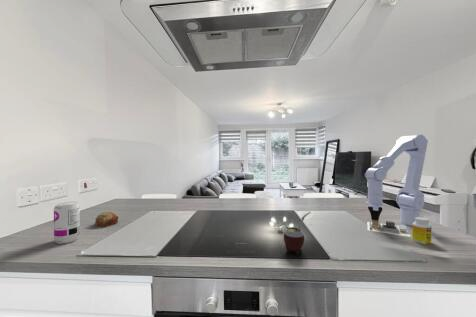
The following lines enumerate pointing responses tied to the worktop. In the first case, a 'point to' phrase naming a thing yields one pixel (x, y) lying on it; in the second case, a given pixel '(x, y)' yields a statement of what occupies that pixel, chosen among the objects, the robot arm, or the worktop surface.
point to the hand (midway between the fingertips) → (374, 222)
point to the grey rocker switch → (402, 228)
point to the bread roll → (106, 219)
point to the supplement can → (66, 222)
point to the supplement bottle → (421, 231)
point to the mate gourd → (294, 238)
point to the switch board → (387, 229)
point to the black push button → (390, 224)
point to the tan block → (375, 224)
